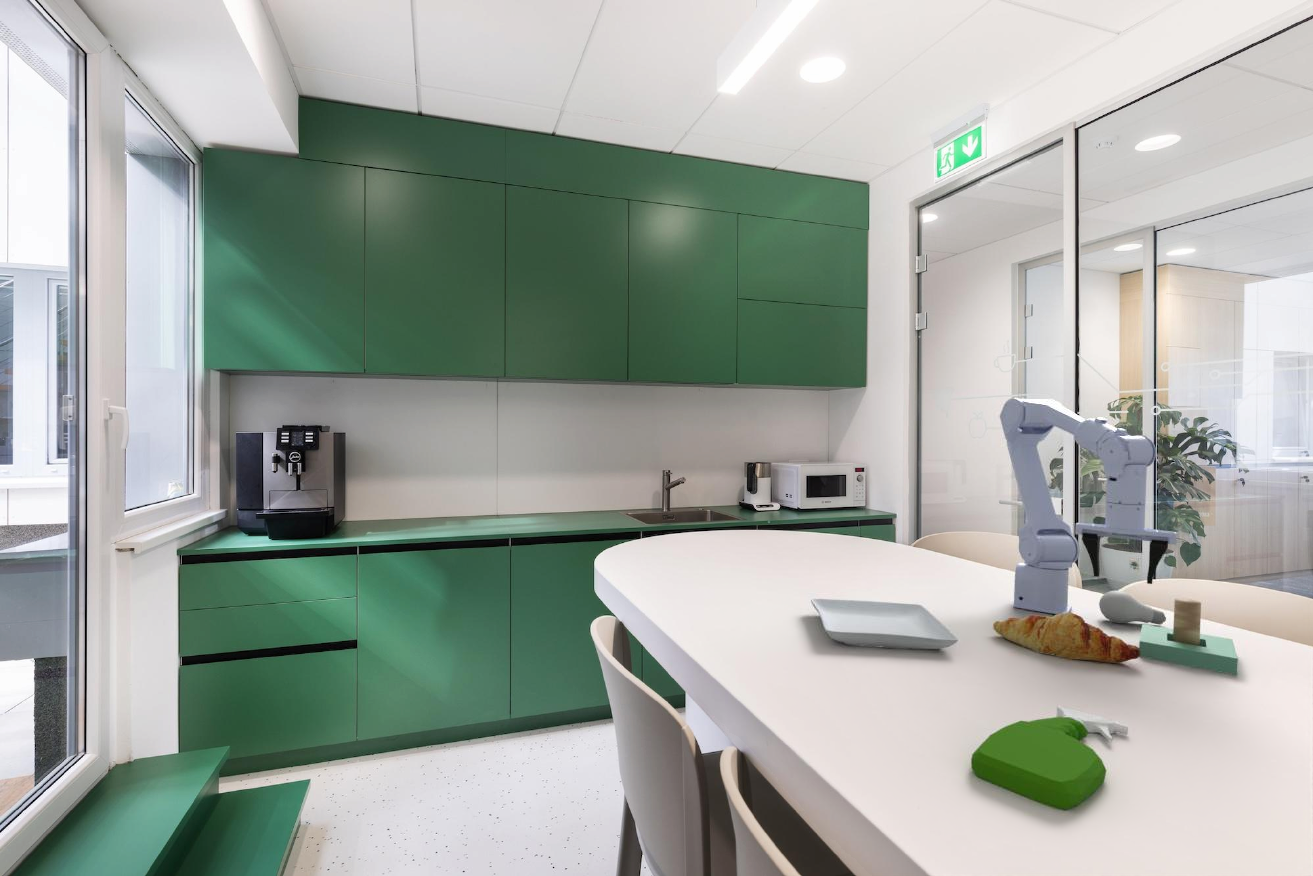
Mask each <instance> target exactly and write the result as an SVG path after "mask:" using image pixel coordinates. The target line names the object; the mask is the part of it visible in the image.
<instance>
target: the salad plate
mask: <svg viewBox="0 0 1313 876" xmlns="http://www.w3.org/2000/svg"><path fill="white" fill-rule="evenodd" d="M810 601H811V604H812V606H813V608H814V609H815V611H816V612H817V613H818V614H819V617H820V619H821V620H820V621H821V622H822V625H823V629H824V630H825V632H826V634H827V635H828V637H829V638H831V639H833V640H834V641H836V642H840V643H842V642H843V643H842V644H845V645H850V646H857V645H863V646H862V647H872V646H882V647H881V648H888V647H893V648H892V649H907V648H912V649H911V650H940V649H946V648H949V647H952V646H953V645H955V644H956V643H958V641H959V638H958V637H957V636H956V635H955V633H953V632H952V631H951V630H950V629H949V628H948V627H947V626H946V625H944V624H943V622H941V621H940V620H939V619H938V618H937V617H936V616H934V615H933V614H932V613H931V612H930V611H929V610H928V609H927V608H926V607H924V606H923V605H922V604H916V603H915V604H914V603H902V602H901V603H900V602H887V601H874V600H873V601H871V600H855V599H853V600H851V599H831V598H829V599H828V598H812V599H810Z"/></svg>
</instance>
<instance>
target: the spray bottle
mask: <svg viewBox="0 0 1313 876" xmlns="http://www.w3.org/2000/svg"><path fill="white" fill-rule="evenodd" d="M1089 733H1099V734H1101V736H1103V737H1104V738H1105V739H1107V740H1108V741H1109V742H1113V737H1112V736H1111V734H1115V733H1118V734H1123V735H1125V736H1126V735H1128V733H1129V726H1128V725H1125V724H1123V723H1120V722H1116V721H1114V720H1112V719H1109V718H1106V717H1102V716H1100V715H1099V716H1098V715H1096V714H1095V715H1094V714H1091V713H1089V712H1088V713H1087V712H1083V711H1079V710H1075V709H1072V708H1071V707H1070V708H1069V707H1063V706H1059V705H1057V706H1056V717H1055V716H1054V717H1047V718H1040V719H1036V720H1030V721H1027V720H1026V721H1025V720H1019V721H1017V722H1014V723H1011V724H1009V725H1006V726H1003V727H1002V728H1000V729H998V730H996V731H995V732H993V733H991V734H990V735H989V736H988V737H987V738H985V740H984V741H983V742H982V743H981V745H979V747H978V748H977V749H976V750H975V751H974V752H973V753H972V754H971V760H970V761H971V763H970V764H971V765H970V766H971V769H972V771H973V772H974V774H975V776H976V777H977V778H979V779H982V780H983V781H986V782H988V783H990V782H991V783H990V784H992V785H996V786H998V787H1001V788H1003V789H1005V790H1007V791H1010V792H1012V793H1014V794H1017V795H1020V796H1021V797H1025V798H1027V799H1030V800H1032V801H1034V802H1037V803H1039V804H1042V805H1046V806H1048V807H1052V808H1055V809H1058V810H1061V809H1063V811H1066V810H1071V809H1073V807H1074V808H1076V807H1077V806H1079V805H1080V804H1081V803H1083V802H1084V801H1085V800H1087V799H1088V798H1089V797H1090V796H1091V795H1093V794H1095V792H1096V791H1097V789H1098V788H1099V787H1100V786H1101V785H1102V784H1103V783H1104V781H1105V778H1106V775H1107V769H1106V765H1105V764H1104V762H1103V760H1102V759H1101V757H1100V756H1099V755H1098V754H1097V752H1096V751H1095V750H1094V749H1093V748H1091V747H1090V746H1088V745H1087V744H1086V743H1085V744H1084V742H1082V741H1081V740H1083V739H1085V738H1086V737H1088V734H1089ZM1087 797H1088V798H1087Z"/></svg>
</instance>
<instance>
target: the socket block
mask: <svg viewBox="0 0 1313 876" xmlns="http://www.w3.org/2000/svg"><path fill="white" fill-rule="evenodd" d="M1139 635H1140V637H1139V647H1138V648H1139V649H1140V656H1139V657H1142V658H1146V659H1152V660H1157V661H1162V662H1163V661H1164V662H1168V663H1171V664H1172V663H1173V664H1178V665H1183V666H1188V667H1194V668H1200V669H1204V670H1210V671H1215V672H1220V673H1226V674H1230V675H1231V674H1232V675H1238V664H1239V662H1238V660H1239V659H1238V655H1237V651H1236V647H1235V645H1234V640H1233V639H1232V638H1228V637H1227V638H1226V637H1221V636H1215V635H1209V634H1204V633H1200V646H1196V645H1190V644H1184V643H1179V642H1173V628H1166V627H1161V626H1155V625H1148V624H1145V623H1144V624H1142V625H1141V630H1140V634H1139Z"/></svg>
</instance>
